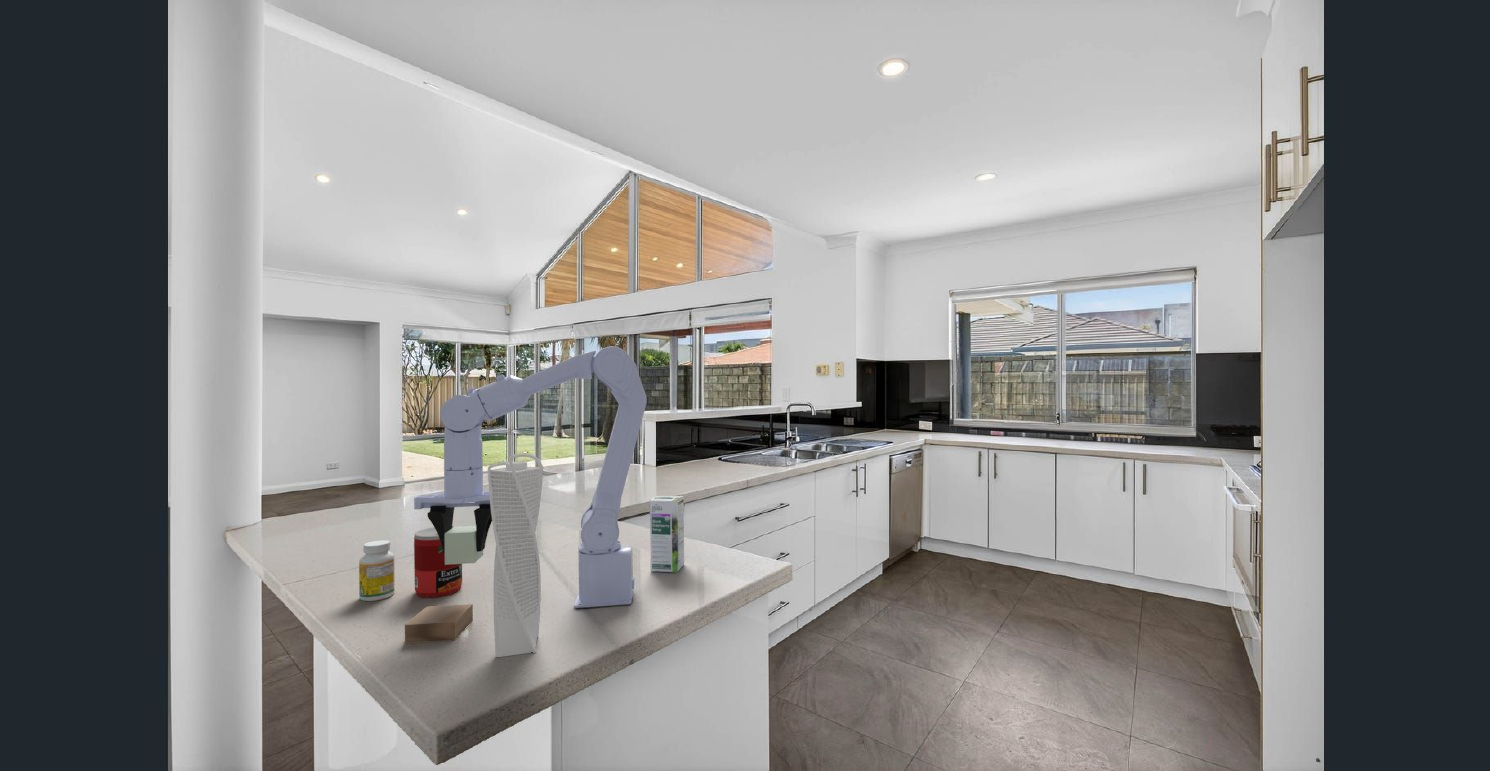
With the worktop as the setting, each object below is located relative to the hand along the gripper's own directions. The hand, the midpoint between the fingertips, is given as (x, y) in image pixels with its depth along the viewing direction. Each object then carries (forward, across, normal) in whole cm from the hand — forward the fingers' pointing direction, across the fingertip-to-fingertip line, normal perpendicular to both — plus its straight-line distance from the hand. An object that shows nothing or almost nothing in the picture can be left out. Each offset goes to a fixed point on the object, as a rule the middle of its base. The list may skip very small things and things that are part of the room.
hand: (464, 550), depth 93 cm
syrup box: (+11, +33, +18) cm, 39 cm away
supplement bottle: (+11, -19, +12) cm, 24 cm away
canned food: (+11, -9, +13) cm, 19 cm away
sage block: (+2, 0, 0) cm, 2 cm away
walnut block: (+11, -2, -6) cm, 13 cm away
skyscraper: (+11, +12, -14) cm, 21 cm away
